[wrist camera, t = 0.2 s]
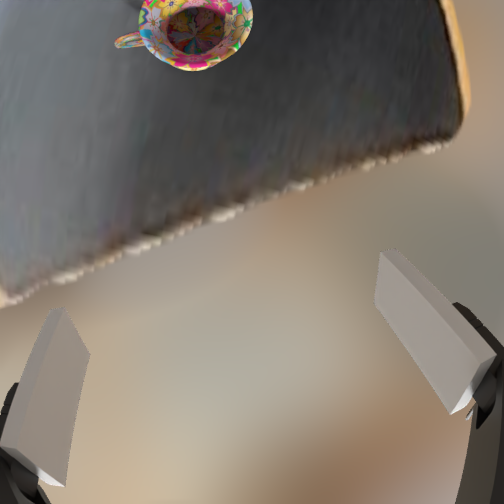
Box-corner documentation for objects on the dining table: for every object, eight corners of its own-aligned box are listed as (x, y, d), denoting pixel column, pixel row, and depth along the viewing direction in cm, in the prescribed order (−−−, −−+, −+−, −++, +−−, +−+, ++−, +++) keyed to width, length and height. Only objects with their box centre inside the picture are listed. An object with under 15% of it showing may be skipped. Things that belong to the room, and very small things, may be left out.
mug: (228, -5, 27) (242, -38, 18) (243, 65, 32) (262, 56, 23) (124, 19, 27) (99, -5, 17) (139, 90, 31) (118, 90, 22)
